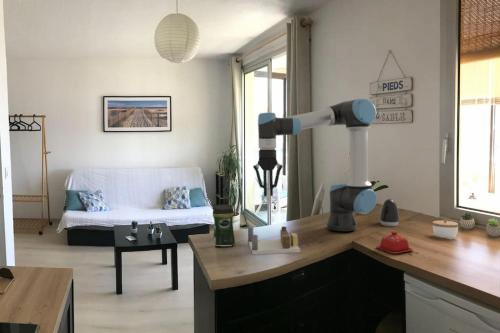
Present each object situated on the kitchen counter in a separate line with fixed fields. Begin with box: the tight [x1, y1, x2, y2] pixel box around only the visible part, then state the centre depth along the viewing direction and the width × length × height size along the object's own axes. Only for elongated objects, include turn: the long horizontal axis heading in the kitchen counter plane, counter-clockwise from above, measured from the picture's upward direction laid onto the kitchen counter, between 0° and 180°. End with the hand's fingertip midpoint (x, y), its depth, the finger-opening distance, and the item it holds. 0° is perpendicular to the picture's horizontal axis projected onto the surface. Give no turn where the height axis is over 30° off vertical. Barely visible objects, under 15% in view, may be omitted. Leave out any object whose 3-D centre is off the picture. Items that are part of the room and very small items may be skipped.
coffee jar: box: [212, 204, 236, 246], centre depth 173 cm, size 10×8×19 cm
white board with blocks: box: [247, 227, 301, 255], centre depth 168 cm, size 20×18×8 cm
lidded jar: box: [432, 218, 459, 241], centre depth 179 cm, size 11×11×9 cm
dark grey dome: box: [379, 198, 401, 227], centre depth 207 cm, size 10×10×15 cm
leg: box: [279, 226, 291, 248], centre depth 168 cm, size 14×3×6 cm, turn 179°
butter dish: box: [375, 230, 414, 254], centre depth 162 cm, size 12×12×8 cm
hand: (268, 203), depth 166 cm, fingers closed
